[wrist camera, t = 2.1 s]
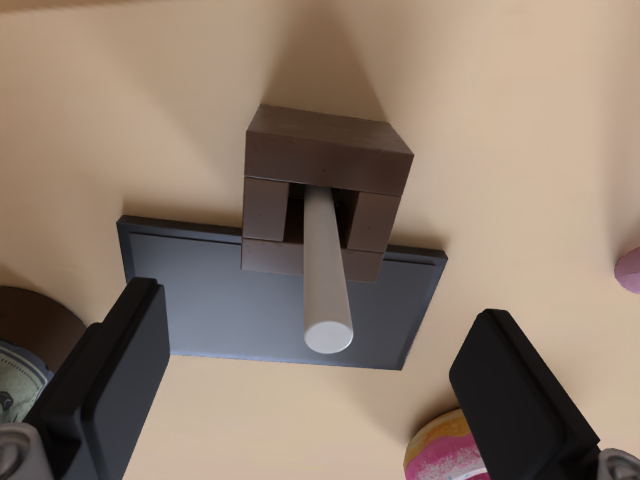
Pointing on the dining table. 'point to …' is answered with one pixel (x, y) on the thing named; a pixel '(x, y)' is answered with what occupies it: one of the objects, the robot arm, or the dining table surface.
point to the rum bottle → (31, 348)
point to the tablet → (272, 297)
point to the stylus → (324, 276)
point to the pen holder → (323, 170)
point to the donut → (444, 451)
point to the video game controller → (629, 271)
